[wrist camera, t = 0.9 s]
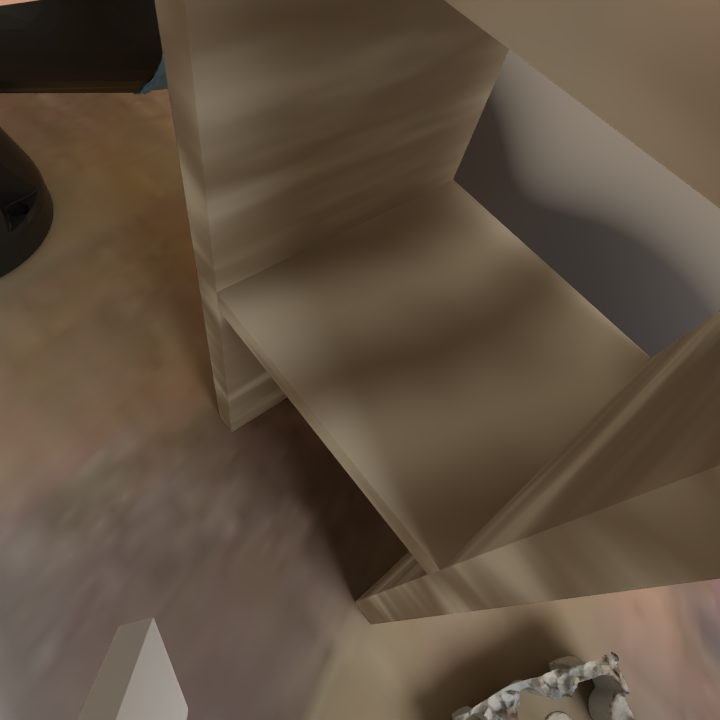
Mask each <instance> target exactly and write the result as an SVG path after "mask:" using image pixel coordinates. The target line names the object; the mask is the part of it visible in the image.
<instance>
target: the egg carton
mask: <svg viewBox="0 0 720 720" xmlns="http://www.w3.org/2000/svg"><path fill="white" fill-rule="evenodd" d="M617 661H619V658H618V656H617V655H616V654H615V653H613V652H611V654H610V655H604V656H602V658H601V659H598V660H595V661H591V662H588V663H584V662H583V661H582V660H581V659H579V658H578V657H575V656H566V657H561V658H558V659H555V660H554V661H552V662H550V663H549V668H550V672H548V673H546V674H544V675H542V676H540V677H537V678H531V679H527V680H524V681H523V680H515V681H513V682H512V683H511V684H510V685H509V686H507V687H506V688H504V689H502V690H500V691H499V692H497V693H496V694H494V695H492V696H491V697H489V698H488V699H486V700H485V701H483V702H481V703H480V704H478V705H476V706H475V707H474V708H470V707H469V706H465V707H462V708H460V709H458V710H456V711H455V712H454V713H453V714H452V720H466V719H467V718H469V717H470V716H471V715H472V714H474V715H475V716H476V717H478V718H480V719H482V720H518V717H517V712H518V707H519V704H520V695H519V691H520V690H522V689H524V690H526V691H528V692H530V693H533V694H536V695H540V696H547V697H550V698H552V699H557V700H560V699H561V698H562V697H563V696H569V697H572V695H573V692H574V690H575V688H577V684H578V682H582V681H586V680H589V679H592V680H593V682H594V685H595V688H594V690H593V691H592V692H591V694H590V697H589V705H588V706H589V712H590V715H591V717H592V719H593V720H635V719H634V717H633V715H632V713H631V711H630V708H629V706H628V704H627V702H626V700H625V698H624V697H625V694H629V691H628V687H627V684H626V682H625V679H624V677H623V675H622V673H621V671H620V670H619V668H618V665H617ZM545 720H572V719H571V718H570V717H569V716H568V715H567V714H565V713H562V712H559V711H558V712H553V713H551V714H550V715H549V716H547V718H546V719H545Z"/></svg>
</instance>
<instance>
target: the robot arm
mask: <svg viewBox="0 0 720 720" xmlns="http://www.w3.org/2000/svg"><path fill="white" fill-rule="evenodd" d="M162 89H168V83H167V77H166V71H165V64H164V58H163V51H162V45H161V38H160V32H159V26H158V19H157V13H156V6H155V0H36V1H29V2H22V3H15V4H8V5H1V6H0V93H134V94H146V93H148V92H151V91H152V90H162ZM52 219H53V203H52V199H51V196H50V193H49V191H48V189H47V187H46V185H45V182H44V180H43V178H42V176H41V174H40V172H39V170H38V168H37V167H36V165H35V164H34V163H33V161H32V160H31V159H30V157H29V156H28V155H27V154H26V153H25V152H24V151H23V150H22V149H21V148H20V147H19V146H18V145H17V144H16V143H15V142H14V141H13V140H12V139H11V138H10V137H9V136H8V135H7V134H6V133H5V132H4V131H3V130H2V129H1V128H0V277H2V276H4V275H5V274H7V273H9V272H10V271H12V270H13V269H15V268H16V267H18V266H19V265H20V264H22V263H23V262H24V261H25V260H27V259H28V258H29V257H30V256H31V255H32V254H33V253H34V252H35V251H36V250H37V248H38V247H39V246H40V245H41V243H42V242H43V240H44V239H45V237H46V235H47V233H48V231H49V229H50V226H51V223H52ZM187 714H188V707H187V705H186V702H185V699H184V697H183V694H182V691H181V689H180V686H179V684H178V681H177V678H176V676H175V673H174V670H173V668H172V665H171V662H170V660H169V657H168V654H167V652H166V649H165V647H164V644H163V641H162V639H161V636H160V633H159V631H158V628H157V625H156V623H155V620H154V617H150V618H146V619H143V620H139V621H135V622H132V623H128V624H124V625H121V626H119V627H118V629H117V631H116V633H115V636H114V638H113V640H112V642H111V645H110V647H109V649H108V651H107V654H106V656H105V658H104V660H103V663H102V665H101V667H100V669H99V671H98V674H97V676H96V678H95V680H94V683H93V685H92V687H91V689H90V692H89V694H88V696H87V698H86V701H85V703H84V705H83V707H82V710H81V712H80V714H79V716H78V719H77V720H186V719H187Z"/></svg>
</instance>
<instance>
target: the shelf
mask: <svg viewBox="0 0 720 720" xmlns="http://www.w3.org/2000/svg"><path fill="white" fill-rule="evenodd" d="M155 6H156V13H157V19H158V26H159V32H160V38H161V45H162V51H163V58H164V64H165V71H166V77H167V83H168V90H169V96H170V103H171V109H172V115H173V122H174V128H175V135H176V141H177V147H178V154H179V160H180V167H181V173H182V180H183V186H184V192H185V199H186V205H187V212H188V218H189V224H190V231H191V237H192V244H193V250H194V256H195V263H196V269H197V276H198V282H199V289H200V295H201V301H202V308H203V314H204V321H205V327H206V333H207V340H208V346H209V353H210V359H211V365H212V372H213V378H214V385H215V391H216V398H217V404H218V410H219V416H220V417H221V419H222V420H223V421H224V423H225V424H226V425H227V427H228V428H229V430H230V431H231V432H234V431H235V430H237V429H238V428H240V427H241V426H243V425H245V424H246V423H248V422H249V421H251V420H252V419H254V418H256V417H257V416H259V415H260V414H262V413H264V412H265V411H267V410H268V409H270V408H271V407H273V406H275V405H276V404H278V403H279V402H281V401H282V400H284V399H286V398H287V397H288V398H289V400H290V401H291V402H292V404H293V405H294V406H295V407H296V409H297V410H298V411H299V412H300V414H301V415H302V416H303V417H304V419H305V420H306V421H307V422H308V424H309V425H310V426H311V428H312V429H313V430H314V431H315V433H316V434H317V435H318V436H319V438H320V439H321V440H322V441H323V443H324V444H325V445H326V446H327V448H328V449H329V450H330V451H331V453H332V454H333V455H334V457H335V458H336V459H337V460H338V462H339V463H340V464H341V465H342V467H343V468H344V469H345V470H346V472H347V473H348V474H349V475H350V477H351V478H352V479H353V481H354V482H355V483H356V484H357V486H358V487H359V488H360V489H361V491H362V492H363V493H364V494H365V496H366V497H367V498H368V499H369V501H370V502H371V503H372V505H373V506H374V507H375V508H376V510H377V511H378V512H379V513H380V515H381V516H382V517H383V518H384V520H385V521H386V522H387V523H388V525H389V526H390V527H391V529H392V530H393V531H394V532H395V534H396V535H397V536H398V537H399V539H400V540H401V541H402V542H403V544H404V545H405V546H406V547H407V549H408V550H409V552H408V553H407V554H406V555H405V556H404V557H403V558H402V559H401V560H399V561H398V562H397V563H396V564H395V565H394V566H393V567H392V568H391V569H390V570H389V571H388V572H387V573H386V574H384V575H383V576H382V577H381V578H380V579H379V580H378V581H377V582H376V583H375V584H374V585H373V586H372V587H371V588H370V589H368V590H367V591H366V592H365V593H364V594H363V595H362V596H361V597H360V598H359V599H358V600H357V601H356V602H355V603H356V604H357V605H358V607H359V608H360V609H361V611H362V612H363V614H364V615H365V616H366V618H367V619H368V620H369V622H370V623H371V624H378V623H386V622H393V621H401V620H408V619H416V618H424V617H431V616H439V615H446V614H454V613H461V612H469V611H477V610H484V609H492V608H499V607H507V606H515V605H522V604H530V603H537V602H545V601H553V600H560V599H568V598H575V597H583V596H590V595H598V594H606V593H613V592H621V591H628V590H636V589H644V588H651V587H659V586H666V585H674V584H682V583H689V582H697V581H704V580H712V579H719V578H720V310H719V311H718V312H717V313H715V314H714V315H712V316H711V317H709V318H708V319H707V320H705V321H704V322H702V323H701V324H699V325H698V326H697V327H695V328H694V329H693V330H691V331H690V332H688V333H687V334H685V335H684V336H683V337H681V338H680V339H678V340H677V341H675V342H674V343H673V344H671V345H670V346H668V347H667V348H666V349H664V350H663V351H661V352H660V353H659V354H657V355H656V356H654V357H653V358H650V357H649V356H648V355H647V354H646V353H645V352H644V351H642V350H641V349H640V348H639V347H638V346H637V345H636V344H634V342H632V341H631V340H630V339H629V338H628V337H627V336H626V335H625V334H624V333H622V332H621V331H620V330H619V329H618V328H617V327H616V326H615V325H613V324H612V323H611V322H610V321H609V320H608V319H607V318H606V317H605V316H603V315H602V314H601V313H600V312H599V311H598V310H597V309H596V308H595V307H594V306H593V305H591V304H590V303H589V302H588V301H587V300H586V299H585V298H584V297H583V296H581V295H580V294H579V293H578V292H577V291H576V290H575V289H574V288H572V287H571V286H570V285H569V284H568V283H567V282H566V281H565V280H564V279H562V278H561V277H560V276H559V275H558V274H557V273H556V272H555V271H554V270H553V269H551V268H550V267H549V266H548V265H547V264H546V263H545V262H544V261H543V260H541V259H540V258H539V257H538V256H537V255H536V254H535V253H534V252H533V251H531V250H530V249H529V248H528V247H527V246H526V245H525V244H524V243H523V242H522V241H520V240H519V239H518V238H517V237H516V236H515V235H514V234H513V233H511V232H510V231H509V230H508V229H507V228H506V227H505V226H504V225H503V224H502V223H500V222H499V221H498V220H497V219H496V218H495V217H494V216H492V215H491V214H490V213H489V212H488V211H487V210H486V209H485V208H484V207H483V206H482V205H480V204H479V203H478V202H477V201H476V200H475V199H474V198H473V197H472V196H470V195H469V194H468V193H467V192H466V191H465V190H464V189H463V188H462V187H460V186H459V185H458V184H457V183H456V182H455V181H454V180H453V178H454V176H455V173H456V170H457V169H458V166H459V164H460V162H461V159H462V157H463V154H464V152H465V150H466V148H467V146H468V143H469V141H470V138H471V136H472V134H473V132H474V129H475V127H476V124H477V122H478V120H479V118H480V115H481V113H482V111H483V108H484V106H485V104H486V101H487V99H488V97H489V95H490V92H491V90H492V87H493V85H494V83H495V81H496V78H497V76H498V74H499V71H500V69H501V67H502V64H503V62H504V60H505V57H506V55H507V53H508V50H511V51H512V52H513V53H515V54H516V55H517V56H519V57H520V58H521V59H523V60H524V61H525V62H527V63H528V64H529V65H531V66H532V67H533V68H535V69H536V70H537V71H539V72H540V73H541V74H543V75H544V76H545V77H546V78H548V79H549V80H550V81H552V82H553V83H554V84H556V85H557V86H558V87H560V88H561V89H562V90H564V91H565V92H566V93H568V94H569V95H570V96H572V97H573V98H574V99H576V100H577V101H578V102H580V103H581V104H582V105H584V106H585V107H586V108H588V109H589V110H590V111H591V112H593V113H594V114H595V115H597V116H598V117H600V118H601V119H602V120H603V121H605V122H606V123H607V124H609V125H610V126H611V127H613V128H614V129H615V130H617V131H618V132H619V133H621V134H622V135H623V136H625V137H626V138H627V139H629V140H630V141H631V142H633V143H634V144H635V145H636V146H638V147H639V148H641V149H642V150H643V151H645V152H646V153H647V154H649V155H650V156H651V157H652V158H654V159H655V160H656V161H658V162H659V163H660V164H662V165H663V166H665V167H666V168H667V169H668V170H670V171H671V172H672V173H674V174H675V175H676V176H678V177H679V178H680V179H682V180H683V181H684V182H686V183H687V184H688V185H690V186H691V187H692V188H693V189H695V190H696V191H697V192H699V193H700V194H702V195H703V196H704V197H705V198H707V199H708V200H709V201H711V202H712V203H713V204H715V205H716V206H717V207H719V208H720V0H155Z"/></svg>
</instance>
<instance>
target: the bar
mask: <svg viewBox="0 0 720 720" xmlns="http://www.w3.org/2000/svg"><path fill="white" fill-rule="evenodd" d="M29 1H36V0H0V6H1V5H8V4H15V3H22V2H29Z"/></svg>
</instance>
